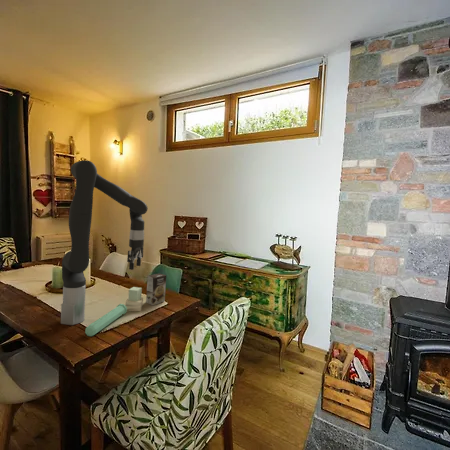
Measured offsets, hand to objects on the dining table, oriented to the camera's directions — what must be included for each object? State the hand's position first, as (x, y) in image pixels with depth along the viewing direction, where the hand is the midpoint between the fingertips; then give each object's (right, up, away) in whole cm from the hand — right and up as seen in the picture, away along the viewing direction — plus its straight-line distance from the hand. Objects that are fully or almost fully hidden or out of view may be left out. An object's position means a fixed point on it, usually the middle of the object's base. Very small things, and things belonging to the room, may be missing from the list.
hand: (135, 267), depth 144 cm
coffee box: (+8, -22, +12) cm, 27 cm away
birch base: (-1, -23, +2) cm, 23 cm away
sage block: (-1, -18, +1) cm, 18 cm away
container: (-7, -24, -19) cm, 31 cm away
